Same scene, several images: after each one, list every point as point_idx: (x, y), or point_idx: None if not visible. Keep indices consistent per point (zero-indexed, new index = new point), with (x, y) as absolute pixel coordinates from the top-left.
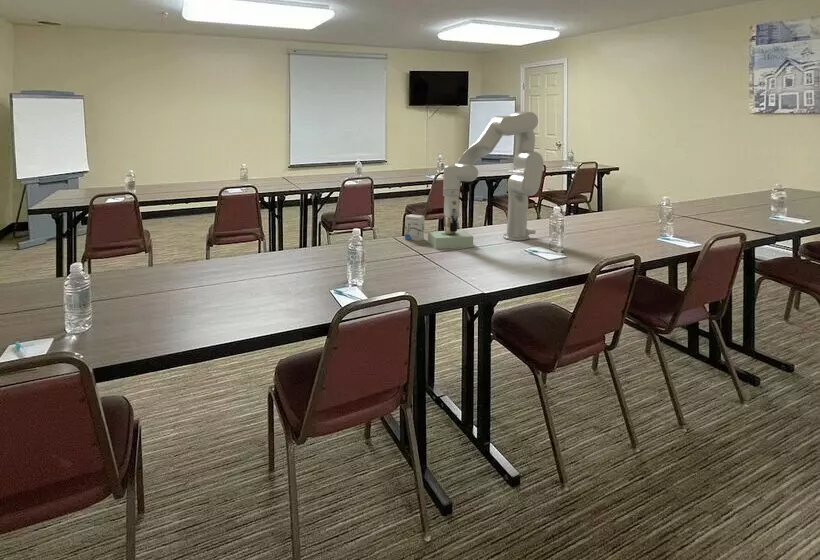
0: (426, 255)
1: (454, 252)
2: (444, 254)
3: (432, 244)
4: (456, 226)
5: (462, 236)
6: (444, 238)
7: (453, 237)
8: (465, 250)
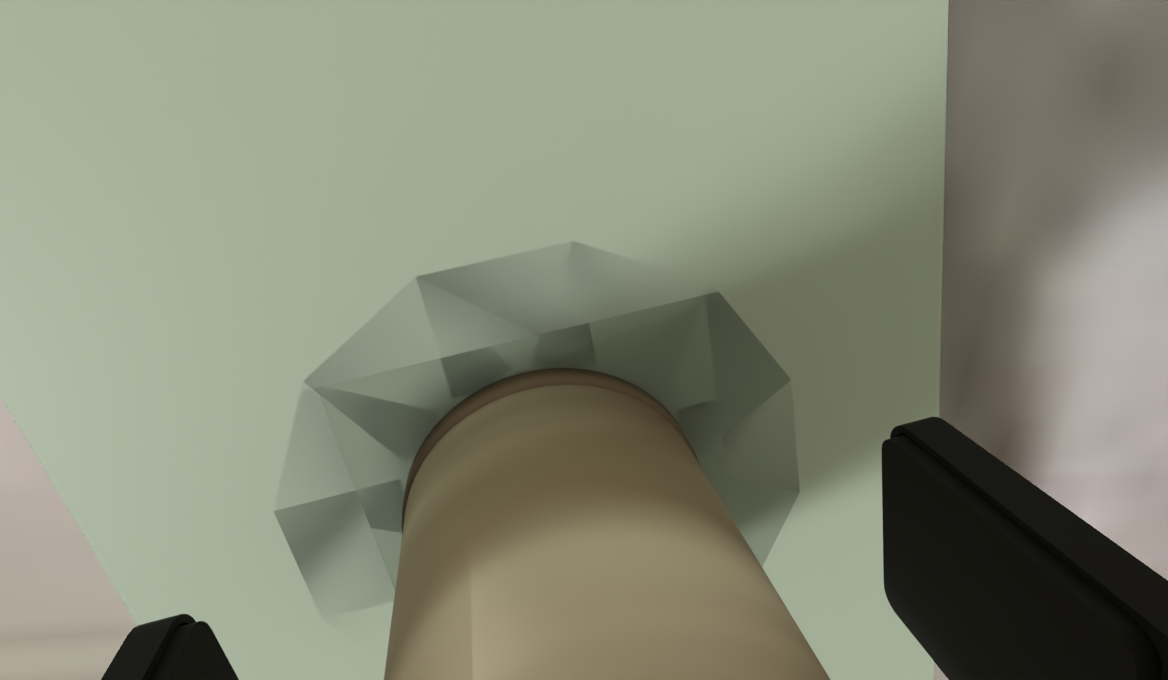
0: None
1: (1094, 325)
2: (1149, 467)
3: None
4: (1061, 529)
5: (898, 188)
6: None
7: None
8: (1027, 116)
